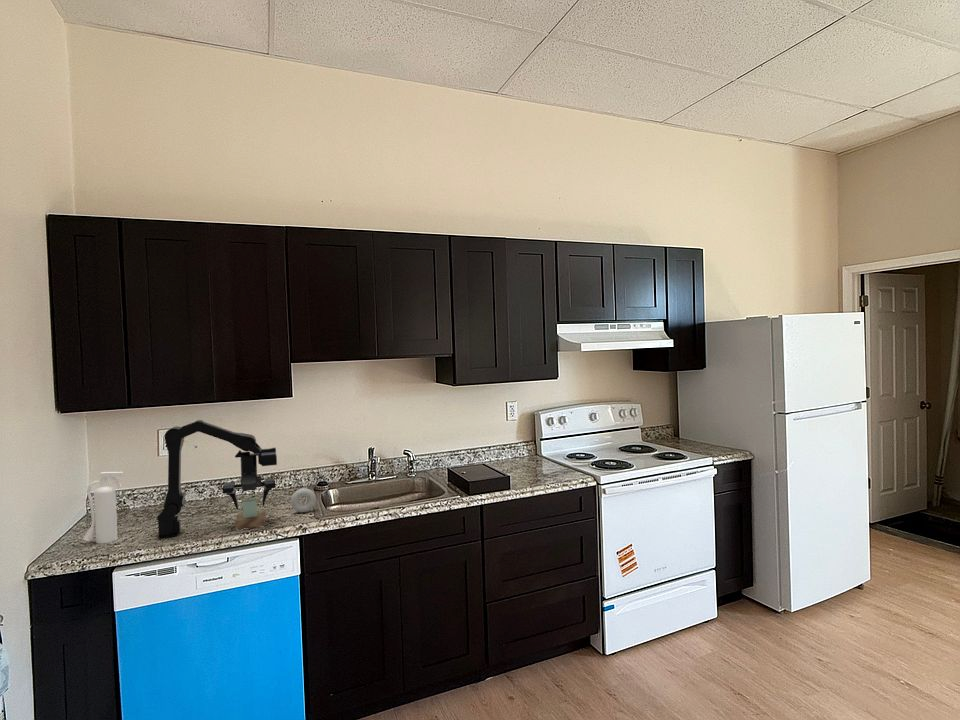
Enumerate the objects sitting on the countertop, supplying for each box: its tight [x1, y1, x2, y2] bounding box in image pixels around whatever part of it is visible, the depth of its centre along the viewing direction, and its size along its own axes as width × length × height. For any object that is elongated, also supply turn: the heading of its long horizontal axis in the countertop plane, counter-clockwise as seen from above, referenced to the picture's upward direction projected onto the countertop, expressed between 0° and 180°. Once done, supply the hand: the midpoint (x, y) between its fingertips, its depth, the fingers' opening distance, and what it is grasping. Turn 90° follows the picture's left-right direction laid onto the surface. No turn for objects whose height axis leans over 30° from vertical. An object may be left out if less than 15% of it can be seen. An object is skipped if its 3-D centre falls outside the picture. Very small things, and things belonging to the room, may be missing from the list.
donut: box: [290, 487, 317, 513], centre depth 223 cm, size 10×4×10 cm, turn 112°
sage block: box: [242, 497, 258, 518], centre depth 209 cm, size 5×5×6 cm
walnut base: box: [234, 509, 267, 530], centre depth 209 cm, size 10×10×4 cm
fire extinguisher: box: [82, 471, 124, 544], centre depth 195 cm, size 7×12×25 cm, turn 116°
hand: (250, 507), depth 209 cm, fingers open, 9 cm apart
